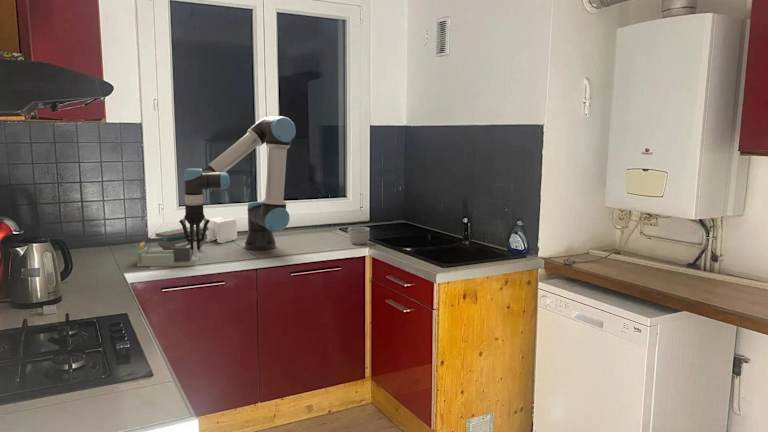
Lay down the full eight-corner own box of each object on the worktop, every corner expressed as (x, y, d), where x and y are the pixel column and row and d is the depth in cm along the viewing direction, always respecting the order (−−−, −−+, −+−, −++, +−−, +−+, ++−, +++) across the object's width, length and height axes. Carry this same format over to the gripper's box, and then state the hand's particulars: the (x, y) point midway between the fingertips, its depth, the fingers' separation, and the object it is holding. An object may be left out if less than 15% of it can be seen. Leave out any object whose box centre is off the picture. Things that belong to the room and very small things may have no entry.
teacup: (373, 244, 310) (373, 229, 309) (355, 246, 304) (355, 231, 303) (359, 239, 321) (359, 225, 320) (341, 241, 315) (341, 226, 314)
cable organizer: (218, 244, 304) (217, 222, 302) (202, 242, 308) (201, 220, 306) (237, 239, 317) (237, 218, 315) (222, 237, 321) (221, 216, 320)
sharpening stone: (168, 258, 272) (167, 235, 270) (156, 256, 276) (155, 233, 274) (209, 249, 293) (208, 227, 292) (197, 247, 297) (196, 225, 295)
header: (199, 259, 272) (199, 239, 271) (194, 265, 260) (194, 245, 259) (144, 259, 269) (143, 240, 268) (137, 266, 257) (136, 245, 256)
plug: (173, 261, 262) (173, 247, 261) (176, 259, 267) (175, 245, 266) (190, 261, 263) (189, 247, 262) (192, 258, 268) (191, 245, 267)
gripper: (210, 202, 266) (212, 254, 270) (180, 202, 265) (182, 255, 268) (208, 205, 259) (209, 258, 263) (176, 205, 257) (178, 258, 261)
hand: (195, 256), depth 265 cm, fingers closed
